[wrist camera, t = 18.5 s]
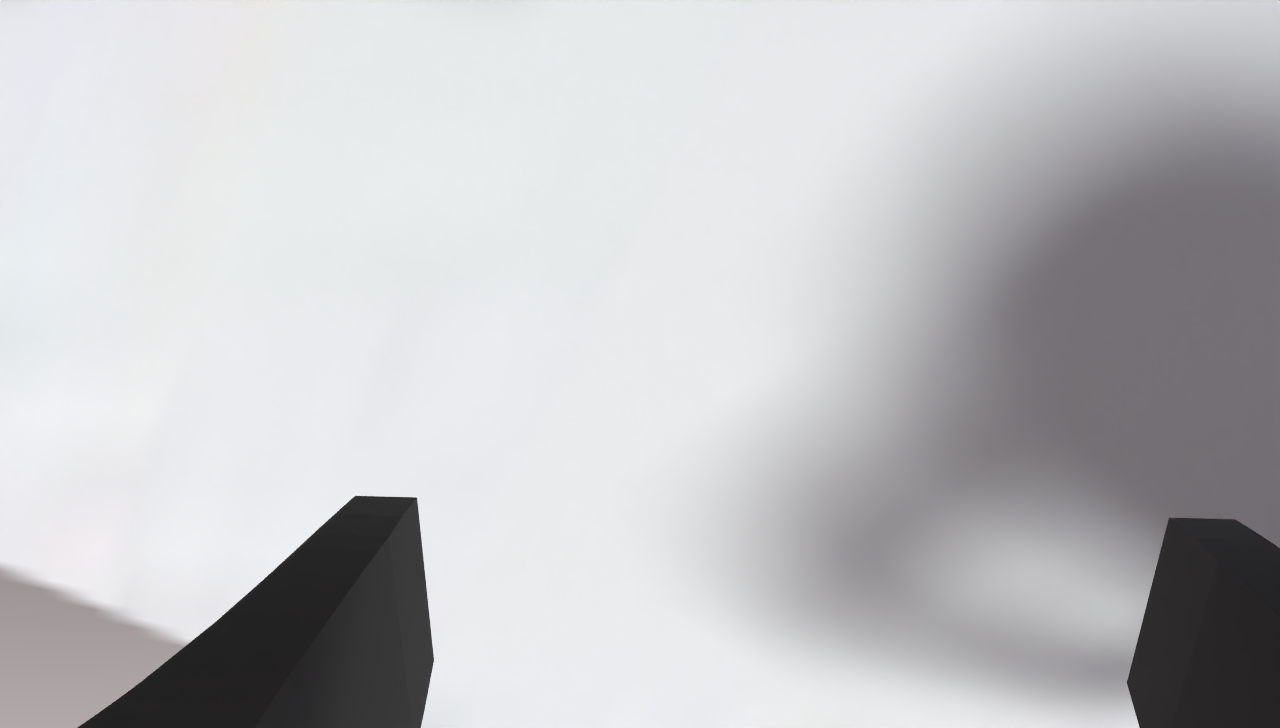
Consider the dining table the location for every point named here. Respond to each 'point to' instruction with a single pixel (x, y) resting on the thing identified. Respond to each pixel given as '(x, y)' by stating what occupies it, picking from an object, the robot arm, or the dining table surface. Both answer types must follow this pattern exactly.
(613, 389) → the dining table surface
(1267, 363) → the dining table surface
